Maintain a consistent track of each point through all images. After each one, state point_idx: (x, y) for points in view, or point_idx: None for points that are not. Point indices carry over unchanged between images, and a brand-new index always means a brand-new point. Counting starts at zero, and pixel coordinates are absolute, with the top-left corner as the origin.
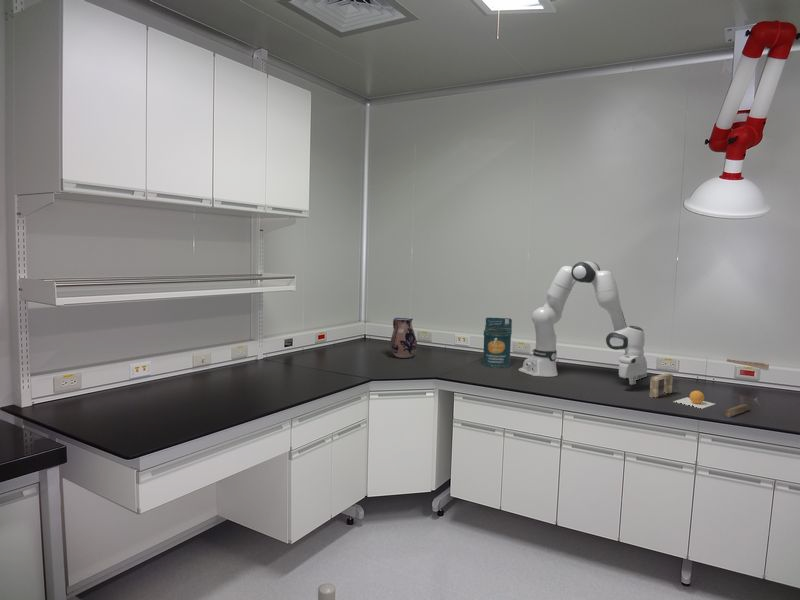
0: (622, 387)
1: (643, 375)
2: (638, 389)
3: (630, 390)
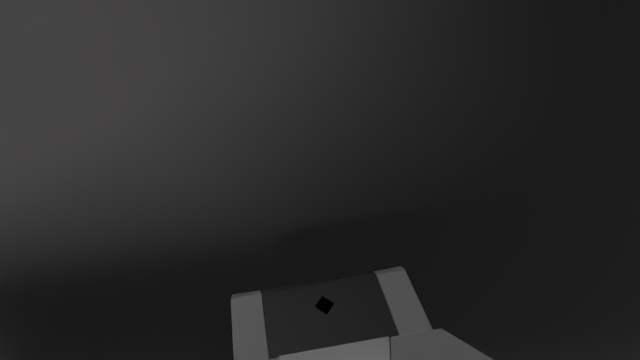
0: (120, 82)
1: None
2: None
3: (93, 343)
